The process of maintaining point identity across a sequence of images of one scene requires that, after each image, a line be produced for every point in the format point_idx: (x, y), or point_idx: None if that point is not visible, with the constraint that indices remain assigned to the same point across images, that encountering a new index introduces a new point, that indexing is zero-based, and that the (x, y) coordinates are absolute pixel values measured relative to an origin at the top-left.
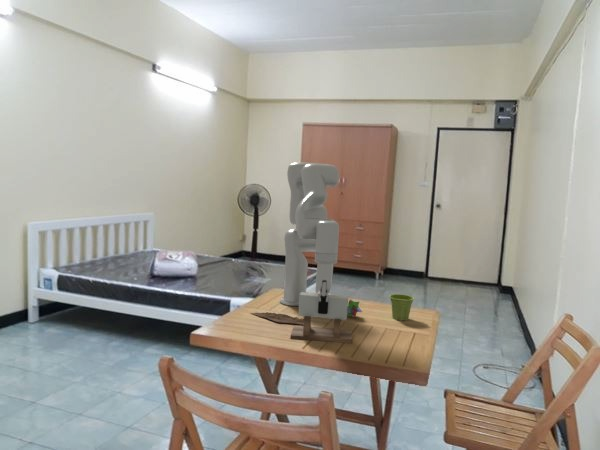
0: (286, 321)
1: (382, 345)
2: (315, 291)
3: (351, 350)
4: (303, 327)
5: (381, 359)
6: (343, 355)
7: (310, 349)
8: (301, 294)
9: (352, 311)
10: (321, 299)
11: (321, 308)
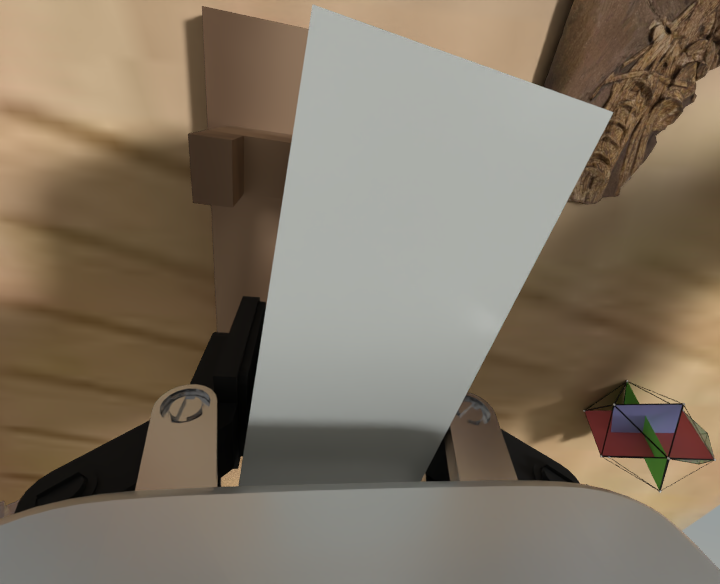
0: (615, 9)
1: (229, 475)
2: (22, 517)
3: (109, 375)
4: (217, 128)
5: (42, 465)
6: (5, 339)
7: (9, 162)
8: (351, 84)
9: (619, 426)
10: (94, 457)
11: (208, 356)
